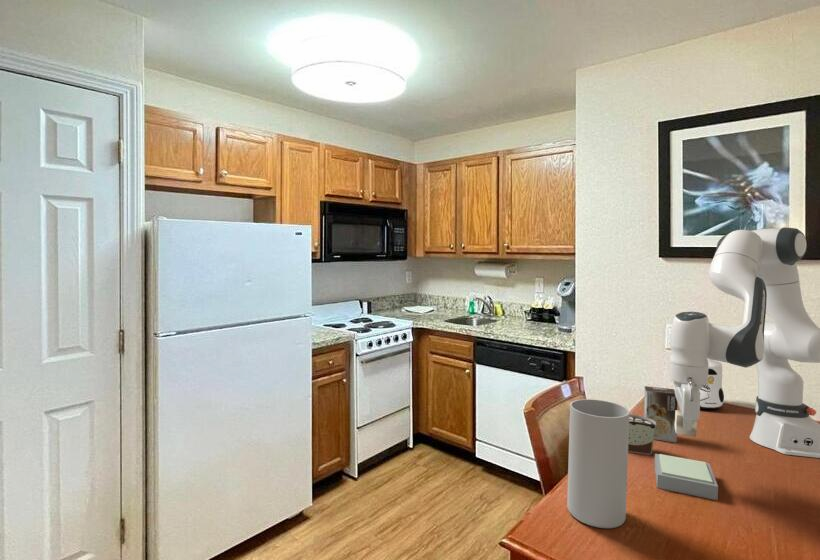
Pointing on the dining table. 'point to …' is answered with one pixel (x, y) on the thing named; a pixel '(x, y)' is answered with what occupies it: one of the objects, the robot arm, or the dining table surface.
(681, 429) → the cream block
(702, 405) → the milk container
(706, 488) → the base
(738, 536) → the dining table surface
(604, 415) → the cylinder vase
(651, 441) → the food container
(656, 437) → the coffee box
